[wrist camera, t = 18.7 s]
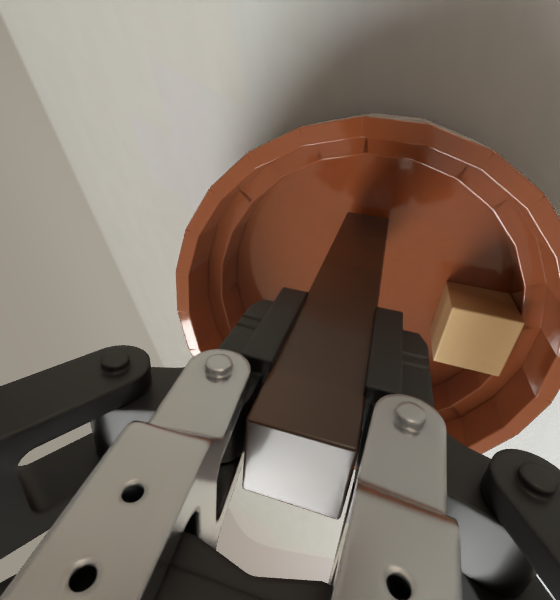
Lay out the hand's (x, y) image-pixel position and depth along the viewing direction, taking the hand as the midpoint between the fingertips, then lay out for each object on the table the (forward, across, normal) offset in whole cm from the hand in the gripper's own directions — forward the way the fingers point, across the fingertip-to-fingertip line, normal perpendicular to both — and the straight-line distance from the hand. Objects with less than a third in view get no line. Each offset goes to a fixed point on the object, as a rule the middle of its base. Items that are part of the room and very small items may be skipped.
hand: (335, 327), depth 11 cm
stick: (+9, 0, 0) cm, 9 cm away
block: (+10, -6, +3) cm, 12 cm away
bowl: (+10, 0, +3) cm, 11 cm away
